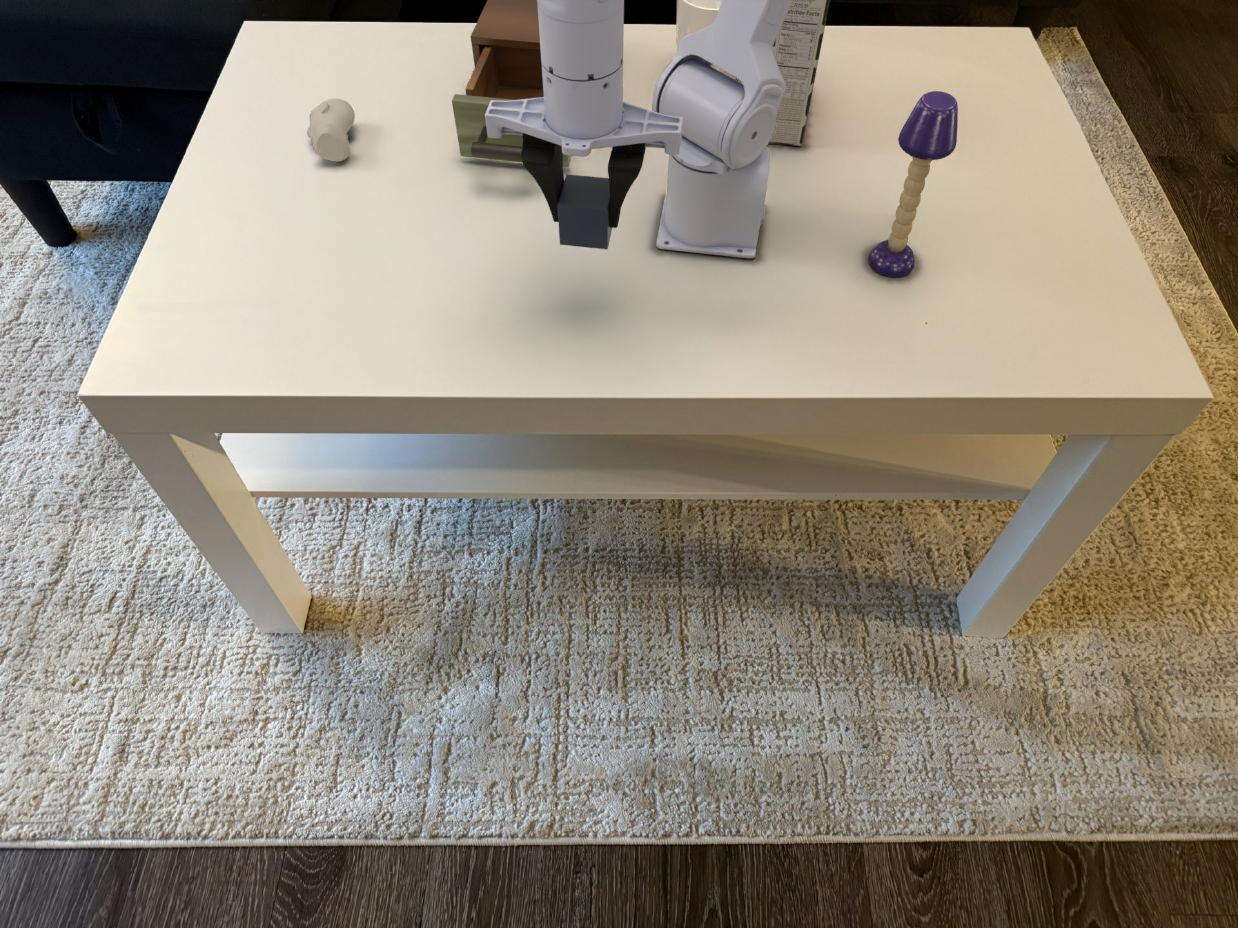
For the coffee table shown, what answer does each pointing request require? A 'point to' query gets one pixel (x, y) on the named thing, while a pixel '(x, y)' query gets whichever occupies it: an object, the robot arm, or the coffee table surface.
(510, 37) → the cabinet
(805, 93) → the candy bar box
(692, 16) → the white cup
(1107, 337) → the coffee table surface
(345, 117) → the pale two-lobed sculpture
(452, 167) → the coffee table surface
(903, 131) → the toy lamp
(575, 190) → the block
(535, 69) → the drawer
